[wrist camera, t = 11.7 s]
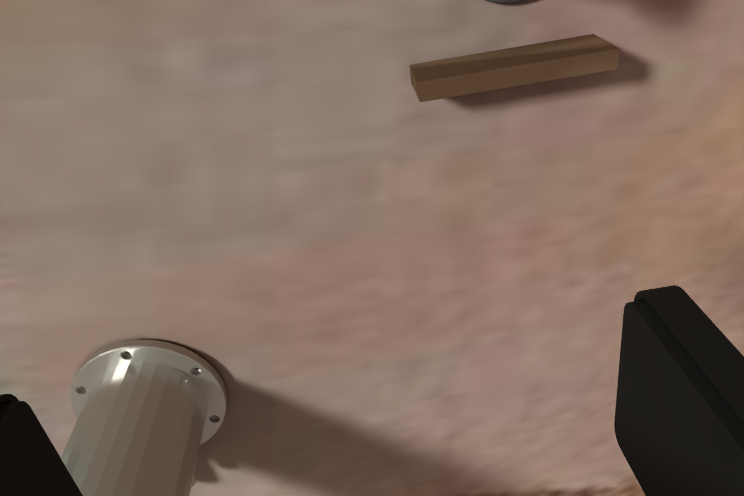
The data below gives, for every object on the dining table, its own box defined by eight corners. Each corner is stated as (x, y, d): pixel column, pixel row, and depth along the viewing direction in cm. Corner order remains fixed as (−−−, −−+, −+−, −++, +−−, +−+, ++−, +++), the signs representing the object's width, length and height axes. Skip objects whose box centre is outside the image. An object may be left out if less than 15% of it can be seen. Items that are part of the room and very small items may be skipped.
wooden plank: (592, 52, 40) (617, 69, 37) (411, 83, 41) (420, 102, 37) (593, 34, 40) (619, 48, 36) (409, 65, 40) (417, 82, 37)
